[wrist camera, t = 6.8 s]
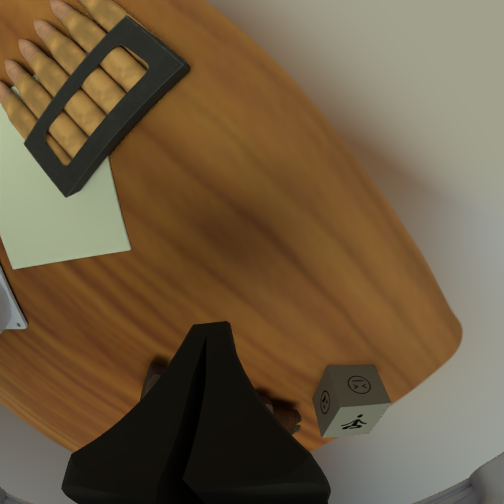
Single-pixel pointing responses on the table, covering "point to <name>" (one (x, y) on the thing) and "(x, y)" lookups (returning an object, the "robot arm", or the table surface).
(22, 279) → the table surface
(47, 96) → the ammunition clip
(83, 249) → the mat
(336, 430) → the dice cube
